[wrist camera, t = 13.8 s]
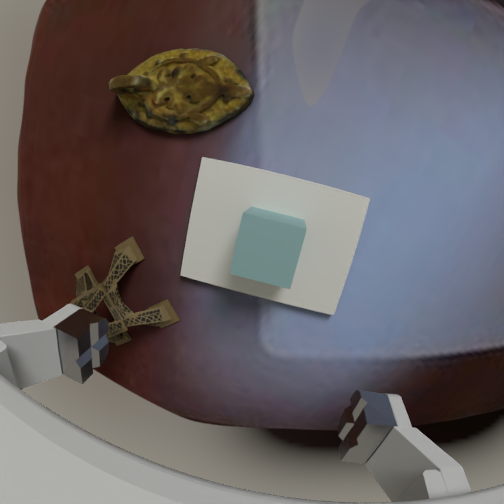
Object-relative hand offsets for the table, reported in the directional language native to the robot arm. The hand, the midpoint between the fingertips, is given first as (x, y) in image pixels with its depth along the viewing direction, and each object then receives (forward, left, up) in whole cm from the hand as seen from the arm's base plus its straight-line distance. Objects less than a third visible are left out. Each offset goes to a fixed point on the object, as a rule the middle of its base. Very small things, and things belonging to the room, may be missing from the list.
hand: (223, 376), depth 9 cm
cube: (0, 0, -21) cm, 21 cm away
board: (0, 0, -21) cm, 21 cm away
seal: (+12, -12, -22) cm, 28 cm away
